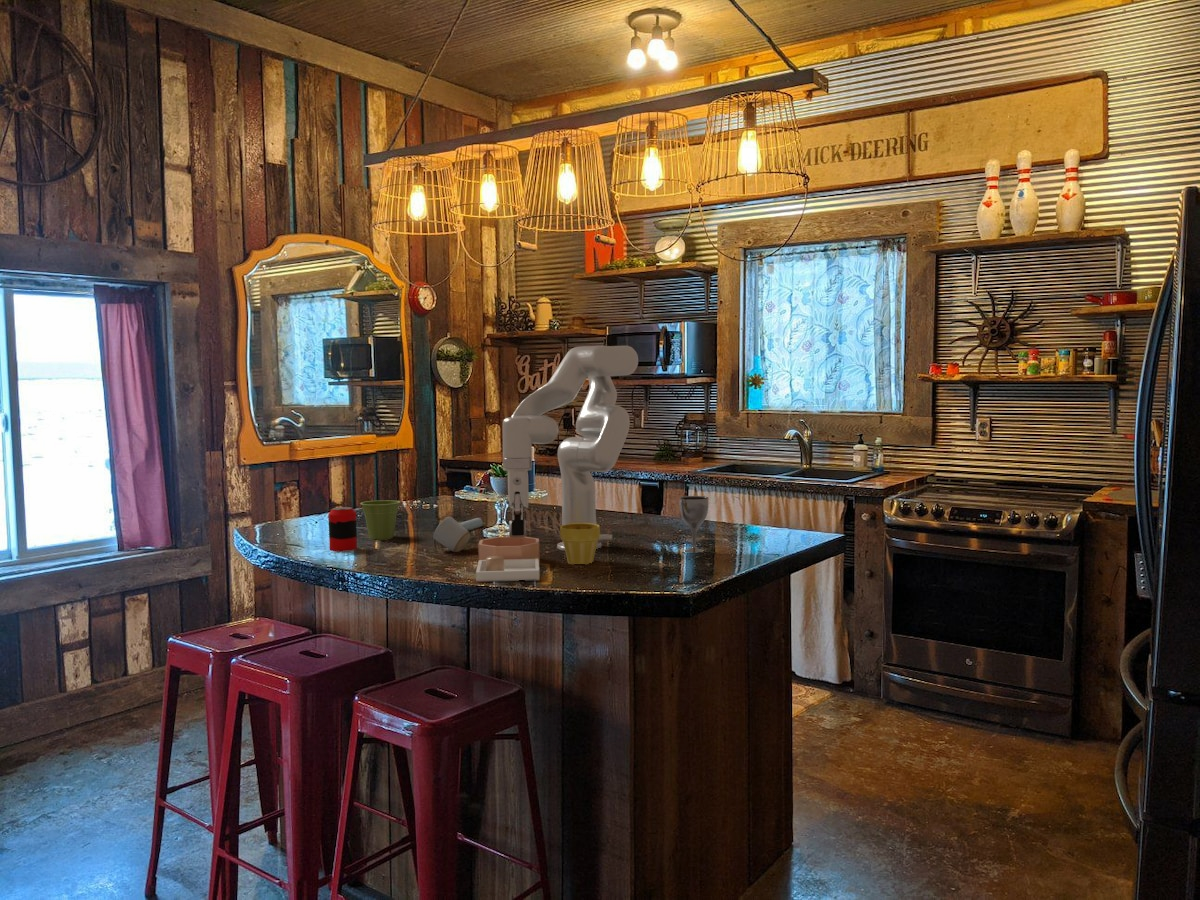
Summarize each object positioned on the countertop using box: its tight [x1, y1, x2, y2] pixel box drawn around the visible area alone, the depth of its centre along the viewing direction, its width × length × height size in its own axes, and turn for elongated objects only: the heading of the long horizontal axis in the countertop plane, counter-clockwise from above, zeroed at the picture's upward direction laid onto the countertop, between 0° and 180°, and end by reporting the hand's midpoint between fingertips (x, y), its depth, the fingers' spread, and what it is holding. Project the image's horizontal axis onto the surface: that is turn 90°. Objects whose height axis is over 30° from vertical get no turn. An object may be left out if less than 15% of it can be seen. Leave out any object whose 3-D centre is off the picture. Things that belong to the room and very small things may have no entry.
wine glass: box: [678, 495, 710, 553], centre depth 258 cm, size 8×8×15 cm
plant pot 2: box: [559, 523, 601, 565], centre depth 245 cm, size 10×10×10 cm
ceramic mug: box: [432, 516, 471, 553], centre depth 264 cm, size 11×8×8 cm
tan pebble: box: [486, 556, 504, 571], centre depth 231 cm, size 4×4×4 cm
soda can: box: [328, 506, 358, 552], centre depth 268 cm, size 8×8×12 cm
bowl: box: [477, 536, 541, 564], centre depth 247 cm, size 16×16×6 cm
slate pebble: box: [508, 519, 527, 537], centre depth 247 cm, size 4×4×4 cm
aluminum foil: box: [458, 517, 484, 532], centre depth 298 cm, size 23×7×3 cm, turn 159°
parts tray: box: [475, 559, 540, 583], centre depth 231 cm, size 15×15×2 cm
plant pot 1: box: [359, 499, 401, 541], centre depth 286 cm, size 12×12×11 cm
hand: (517, 533), depth 247 cm, fingers closed on slate pebble, 4 cm apart
